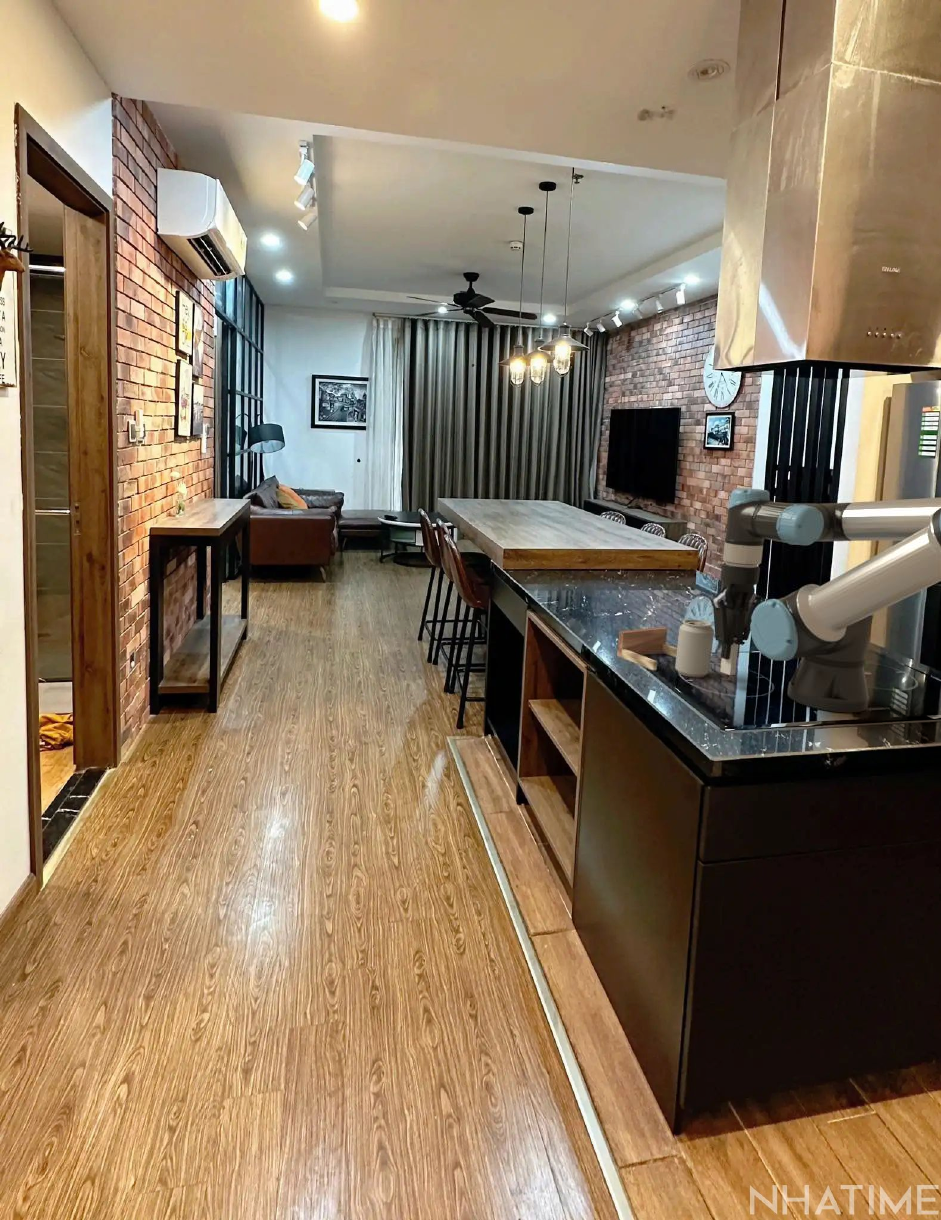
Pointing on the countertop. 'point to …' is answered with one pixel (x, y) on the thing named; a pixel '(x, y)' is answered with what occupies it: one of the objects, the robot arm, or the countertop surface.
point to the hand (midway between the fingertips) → (727, 672)
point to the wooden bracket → (644, 645)
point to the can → (694, 648)
